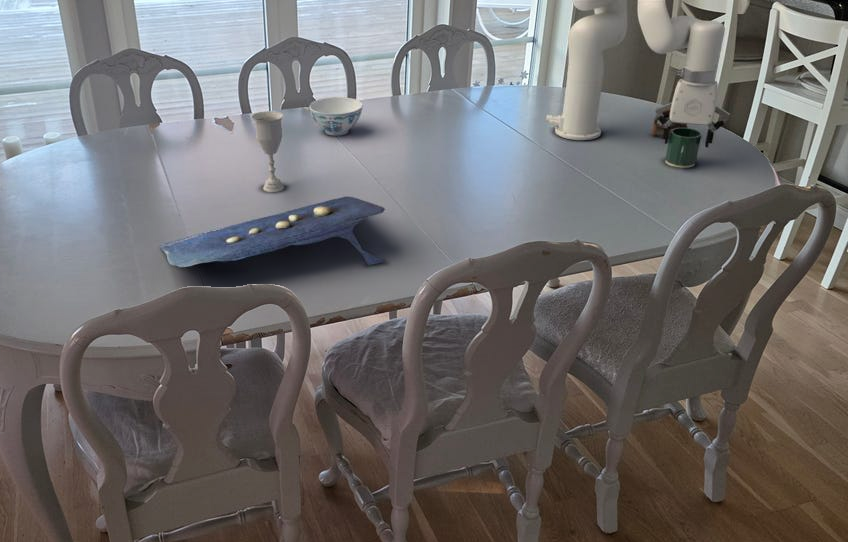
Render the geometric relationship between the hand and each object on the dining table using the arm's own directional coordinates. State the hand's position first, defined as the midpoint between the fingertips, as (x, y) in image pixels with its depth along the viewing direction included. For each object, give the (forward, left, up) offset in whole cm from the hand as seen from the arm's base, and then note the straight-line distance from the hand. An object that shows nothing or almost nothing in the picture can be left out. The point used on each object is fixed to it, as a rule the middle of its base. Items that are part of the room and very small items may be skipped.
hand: (686, 143), depth 198 cm
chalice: (-93, -49, -6) cm, 105 cm away
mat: (-77, -78, -6) cm, 110 cm away
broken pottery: (-5, +21, -6) cm, 22 cm away
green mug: (-1, -1, -5) cm, 5 cm away
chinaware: (-94, -7, -6) cm, 94 cm away
